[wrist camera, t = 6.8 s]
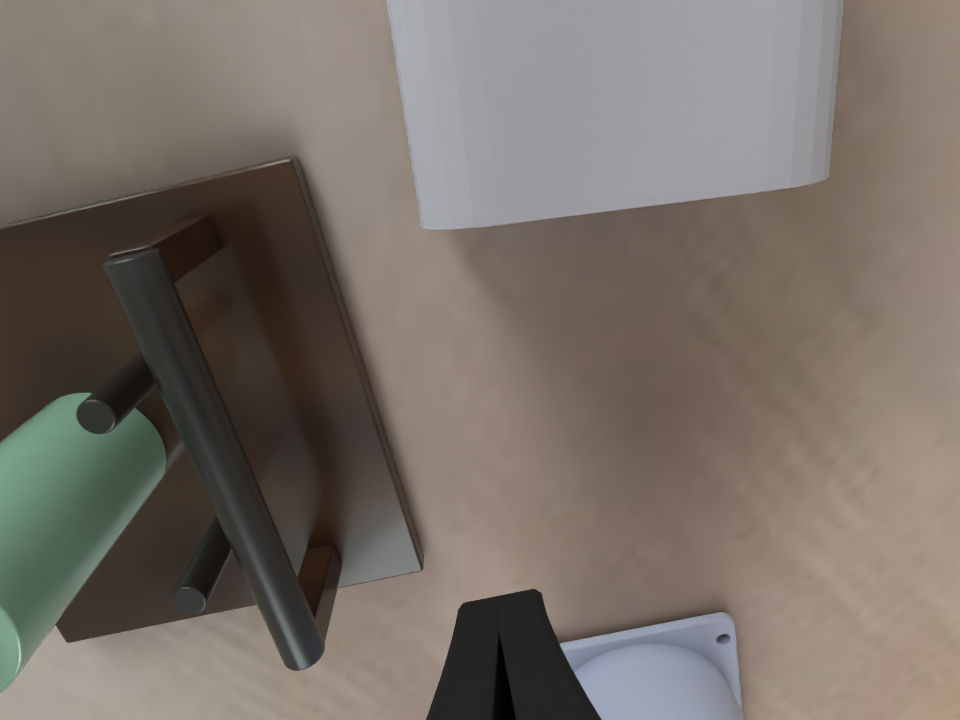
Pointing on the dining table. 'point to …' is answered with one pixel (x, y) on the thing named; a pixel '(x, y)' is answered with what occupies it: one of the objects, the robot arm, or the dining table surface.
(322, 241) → the rack
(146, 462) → the bottle
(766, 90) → the charger
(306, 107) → the dining table surface
